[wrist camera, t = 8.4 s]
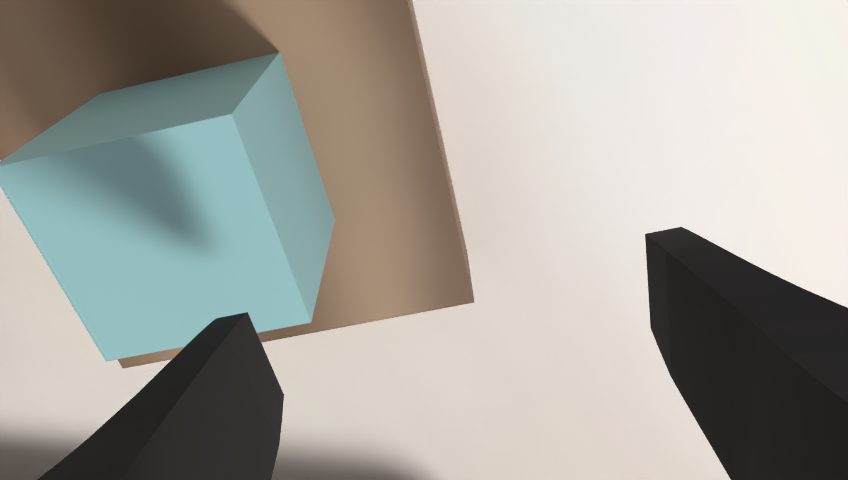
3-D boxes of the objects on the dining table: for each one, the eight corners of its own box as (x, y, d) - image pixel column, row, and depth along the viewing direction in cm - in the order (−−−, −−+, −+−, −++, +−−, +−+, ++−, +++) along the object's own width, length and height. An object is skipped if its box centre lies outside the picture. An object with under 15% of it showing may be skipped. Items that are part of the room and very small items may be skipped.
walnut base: (385, -121, 17) (380, -121, 15) (467, 254, 23) (474, 302, 20) (-22, -17, 18) (-94, 0, 16) (154, 315, 24) (123, 368, 21)
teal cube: (280, 52, 16) (231, 113, 12) (335, 220, 19) (311, 322, 14) (99, 93, 17) (-11, 168, 13) (175, 252, 19) (106, 361, 15)
